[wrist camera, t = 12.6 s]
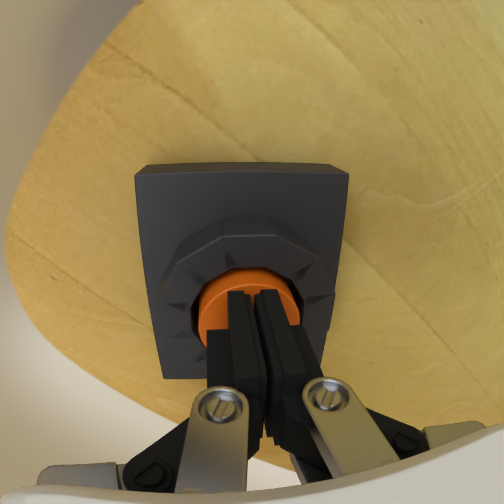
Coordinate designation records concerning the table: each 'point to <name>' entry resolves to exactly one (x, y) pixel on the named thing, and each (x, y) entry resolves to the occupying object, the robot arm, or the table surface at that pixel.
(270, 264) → the push button box
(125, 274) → the table surface
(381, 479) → the robot arm
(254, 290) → the round orange button
